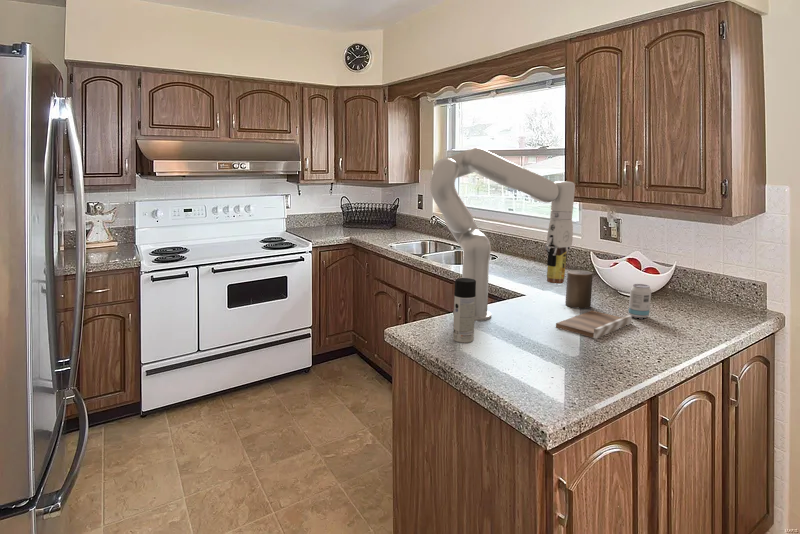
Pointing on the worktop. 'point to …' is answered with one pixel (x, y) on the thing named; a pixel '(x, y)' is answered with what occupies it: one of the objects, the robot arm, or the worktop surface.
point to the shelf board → (594, 323)
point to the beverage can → (639, 301)
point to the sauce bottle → (557, 267)
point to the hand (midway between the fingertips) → (556, 264)
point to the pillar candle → (579, 289)
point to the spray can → (464, 310)
